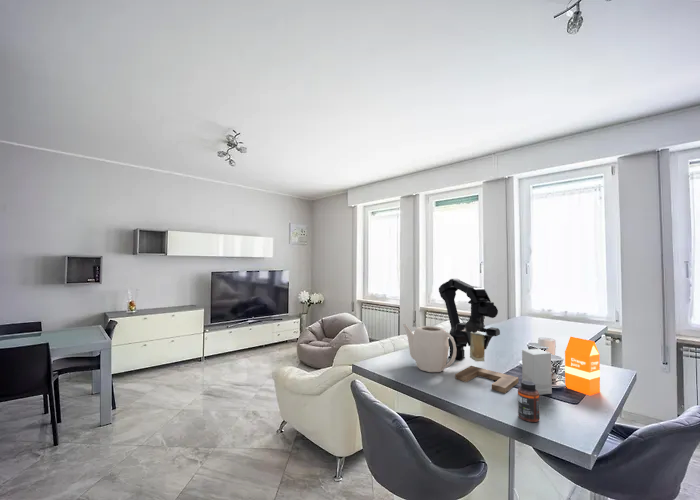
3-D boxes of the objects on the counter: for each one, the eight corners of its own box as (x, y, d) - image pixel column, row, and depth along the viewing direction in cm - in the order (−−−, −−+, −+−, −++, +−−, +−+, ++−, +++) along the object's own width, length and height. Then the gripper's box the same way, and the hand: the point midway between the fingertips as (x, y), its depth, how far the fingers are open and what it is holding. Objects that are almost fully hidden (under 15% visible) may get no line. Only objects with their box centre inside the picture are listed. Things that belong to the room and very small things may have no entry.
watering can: (410, 358, 160) (410, 321, 160) (462, 370, 143) (462, 329, 144) (394, 366, 147) (394, 325, 148) (449, 380, 131) (449, 334, 131)
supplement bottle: (537, 415, 101) (536, 380, 102) (541, 424, 95) (541, 387, 96) (516, 412, 103) (516, 377, 104) (519, 421, 97) (519, 384, 98)
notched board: (455, 378, 132) (455, 374, 132) (471, 370, 144) (471, 365, 144) (505, 393, 118) (505, 388, 118) (518, 382, 130) (518, 377, 130)
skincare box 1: (469, 357, 149) (469, 331, 150) (478, 357, 149) (478, 331, 150) (476, 361, 143) (476, 334, 143) (485, 361, 143) (485, 334, 144)
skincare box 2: (539, 387, 124) (539, 348, 125) (553, 394, 118) (553, 353, 119) (521, 388, 123) (521, 349, 124) (533, 395, 117) (533, 353, 117)
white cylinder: (550, 369, 146) (550, 337, 147) (558, 375, 140) (558, 341, 140) (535, 369, 147) (535, 337, 148) (543, 374, 140) (542, 340, 141)
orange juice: (589, 395, 118) (589, 342, 119) (564, 387, 126) (564, 337, 126) (600, 392, 121) (599, 340, 122) (575, 384, 129) (575, 335, 130)
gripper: (450, 313, 148) (450, 346, 147) (491, 319, 135) (491, 355, 134) (461, 311, 156) (461, 342, 155) (500, 316, 143) (500, 350, 142)
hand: (477, 347), depth 146 cm, fingers closed on skincare box 1, 7 cm apart
